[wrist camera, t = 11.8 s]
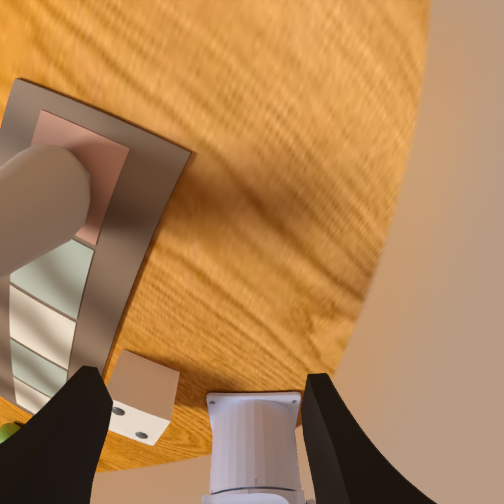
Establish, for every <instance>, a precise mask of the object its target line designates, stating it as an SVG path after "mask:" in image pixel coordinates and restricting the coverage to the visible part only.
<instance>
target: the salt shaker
mask: <svg viewBox="0 0 504 504" xmlns="http://www.w3.org/2000/svg"><path fill="white" fill-rule="evenodd" d="M90 183H91V174H90V172H89V171H88V170H87V169H86V168H85V167H84V165H83V164H82V163H81V162H80V161H79V160H78V158H77V157H76V156H75V155H74V154H73V153H72V152H70V151H69V150H67V149H65V148H63V147H61V146H58V145H45V144H35V145H33V146H31V147H29V148H27V149H25V150H23V151H21V152H19V153H18V154H17V155H15V156H14V157H13V158H11V159H10V160H9V161H7V162H6V163H5V164H3V165H2V166H1V167H0V280H1V279H3V278H4V277H6V276H8V275H9V274H11V273H13V272H14V271H16V270H18V269H20V268H21V267H23V266H25V265H27V264H28V263H30V262H32V261H34V260H35V259H37V258H39V257H41V256H43V255H45V254H46V253H48V252H50V251H52V250H54V249H56V248H57V247H59V246H61V245H63V244H65V243H67V242H69V241H70V240H71V239H72V238H73V237H74V236H75V234H76V233H77V232H78V231H79V230H80V229H81V228H82V226H83V225H84V223H85V221H86V217H87V213H88V209H89V205H90Z"/></svg>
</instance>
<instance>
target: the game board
mask: <svg viewBox="0 0 504 504" xmlns="http://www.w3.org/2000/svg"><path fill="white" fill-rule="evenodd" d="M35 144H45V145H58V146H61V147H63V148H65V149H67V150H69V151H70V152H72V153H73V154H74V155H75V156H76V157H77V158H78V160H79V161H80V162H81V163H82V164H83V165H84V167H85V168H86V169H87V170H88V171H89V172H90V174H91V183H90V205H89V209H88V213H87V217H86V221H85V223H84V225H83V226H82V228H81V229H80V230H79V231H78V232H77V233H76V234H75V236H74V237H73V238H72V239H71V240H70V241H69V242H67V243H65V244H63V245H61V246H59V247H57V248H56V249H54V250H52V251H50V252H48V253H46V254H45V255H43V256H41V257H39V258H37V259H35V260H34V261H32V262H30V263H28V264H27V265H25V266H23V267H21V268H20V269H18V270H16V271H14V272H13V273H11V274H9V275H8V276H6V277H4V278H3V279H1V280H0V396H1V397H3V398H4V399H6V400H7V401H9V402H11V403H12V404H14V405H16V406H17V407H19V408H20V409H22V410H24V411H26V412H27V413H29V414H31V415H33V416H34V415H35V414H36V413H37V412H38V411H39V410H40V409H41V408H42V407H43V406H44V405H45V404H46V403H47V402H48V401H49V400H50V399H51V398H52V397H53V396H54V395H55V394H56V393H57V392H58V391H59V390H60V389H61V387H62V386H63V385H64V384H65V383H66V382H67V381H68V380H69V379H70V378H71V377H72V376H73V375H74V374H75V373H76V372H77V371H78V370H79V369H80V368H81V367H82V366H83V365H84V366H92V367H97V368H98V371H99V373H100V375H101V377H102V373H103V370H104V367H105V364H106V360H107V357H108V354H109V351H110V348H111V345H112V342H113V339H114V336H115V333H116V330H117V327H118V324H119V321H120V319H121V316H122V313H123V310H124V307H125V305H126V302H127V299H128V297H129V294H130V291H131V289H132V286H133V283H134V281H135V278H136V276H137V273H138V270H139V268H140V265H141V263H142V260H143V258H144V256H145V253H146V251H147V248H148V246H149V243H150V241H151V239H152V236H153V234H154V232H155V229H156V227H157V225H158V222H159V220H160V218H161V216H162V213H163V211H164V209H165V207H166V204H167V202H168V200H169V198H170V196H171V194H172V191H173V189H174V187H175V185H176V183H177V181H178V179H179V177H180V175H181V172H182V170H183V168H184V166H185V164H186V162H187V160H188V158H189V156H190V154H191V152H190V151H188V150H186V149H183V148H181V147H179V146H177V145H175V144H173V143H171V142H169V141H167V140H165V139H162V138H160V137H158V136H156V135H154V134H152V133H149V132H147V131H145V130H143V129H141V128H138V127H136V126H134V125H132V124H130V123H127V122H125V121H123V120H121V119H118V118H116V117H114V116H111V115H109V114H107V113H104V112H102V111H100V110H97V109H95V108H93V107H90V106H88V105H86V104H83V103H81V102H78V101H76V100H73V99H71V98H68V97H66V96H63V95H61V94H58V93H56V92H53V91H51V90H48V89H46V88H43V87H40V86H38V85H35V84H32V83H30V82H27V81H24V80H22V79H19V78H15V80H14V83H13V86H12V89H11V92H10V96H9V99H8V102H7V106H6V109H5V113H4V117H3V120H2V124H1V128H0V167H1V166H2V165H3V164H5V163H6V162H7V161H9V160H10V159H11V158H13V157H14V156H15V155H17V154H18V153H19V152H21V151H23V150H25V149H27V148H29V147H31V146H33V145H35Z"/></svg>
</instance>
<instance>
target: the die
mask: <svg viewBox="0 0 504 504" xmlns="http://www.w3.org/2000/svg"><path fill="white" fill-rule="evenodd" d="M179 375H180V372H178V371H175V370H173V369H170V368H167V367H165V366H162V365H160V364H157V363H155V362H153V361H150V360H148V359H145V358H143V357H141V356H138V355H136V354H134V353H132V352H129V351H127V350H125V349H123V348H122V350H121V353H120V355H119V358H118V360H117V363H116V366H115V368H114V371H113V373H112V376H111V378H110V381H109V384H108V386H107V390H108V392H109V394H110V396H111V398H112V400H113V408H112V414H111V419H110V424H109V428H108V430H111V431H113V432H116V433H118V434H121V435H124V436H126V437H129V438H131V439H134V440H137V441H140V442H143V443H145V444H148V445H151V446H153V445H154V444H155V443H156V441H157V440H158V438H159V437H160V436H161V434H162V433H163V432H164V430H165V429H166V427H167V426H168V425H169V423H170V422H171V417H172V412H173V406H174V401H175V396H176V390H177V385H178V380H179Z"/></svg>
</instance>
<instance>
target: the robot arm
mask: <svg viewBox="0 0 504 504" xmlns="http://www.w3.org/2000/svg"><path fill="white" fill-rule="evenodd" d="M206 401H207V407H208V412H209V417H210V423H211V428H212V433H213V444H212V459H211V473H210V489H209V495H203V496H202V504H305V500H304V492H303V490H301V483H300V474H299V465H298V456H297V448H296V439H295V427H296V422H297V417H298V412H299V407H300V401H301V393H299V392H277V393H208V394H207V395H206ZM112 408H113V400H112V398H111V396H110V394H109V392H108V390H107V388H106V386H105V384H104V382H103V379H102V377H101V375H100V373H99V371H98V368H97V367H92V366H84V365H83V366H82V367H81V368H80V369H79V370H78V371H77V372H76V373H75V374H74V375H73V376H72V377H71V378H70V379H69V380H68V381H67V382H66V383H65V384H64V385H63V386H62V387H61V389H60V390H59V391H58V392H57V393H56V394H55V395H54V396H53V397H52V398H51V399H50V400H49V401H48V402H47V403H46V404H45V405H44V406H43V407H42V408H41V409H40V410H39V411H38V412H37V413H36V414H35V415H34V416H33V417H32V418H31V419H30V420H29V421H28V422H27V423H26V424H25V425H23V426H22V427H21V428H20V429H19V430H18V431H16V432H15V433H14V434H13V435H11V436H10V437H9V438H7V439H6V440H5V441H3V442H2V443H0V504H90V497H91V489H92V482H93V478H94V474H95V471H96V467H97V464H98V461H99V457H100V454H101V451H102V448H103V445H104V441H105V438H106V435H107V432H108V428H109V424H110V419H111V414H112ZM301 415H302V427H303V436H304V442H305V446H306V451H307V456H308V461H309V466H310V470H311V475H312V480H313V485H314V491H315V497H316V502H315V500H313V499H310V500H306V504H437V503H435V502H434V501H432V500H431V499H430V498H428V497H427V496H426V495H424V494H423V493H422V492H421V491H420V490H418V489H417V488H416V487H415V486H414V485H412V484H411V483H410V482H409V481H408V480H406V479H405V478H404V477H403V476H402V475H401V474H400V473H399V472H398V471H397V470H396V469H395V468H394V467H393V466H392V465H391V464H390V463H389V462H388V460H386V458H385V457H384V456H383V455H382V454H381V453H380V452H379V450H378V449H377V448H376V447H375V446H374V444H373V443H372V442H371V441H370V439H369V438H368V437H367V436H366V434H365V433H364V431H363V430H362V429H361V427H360V426H359V424H358V423H357V422H356V420H355V419H354V417H353V416H352V414H351V413H350V411H349V410H348V409H347V407H346V405H345V403H344V402H343V400H342V399H341V397H340V395H339V394H338V392H337V390H336V388H335V387H334V385H333V383H332V381H331V379H330V377H329V375H328V374H326V373H319V374H308V375H307V380H306V386H305V391H304V397H303V402H302V407H301Z"/></svg>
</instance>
